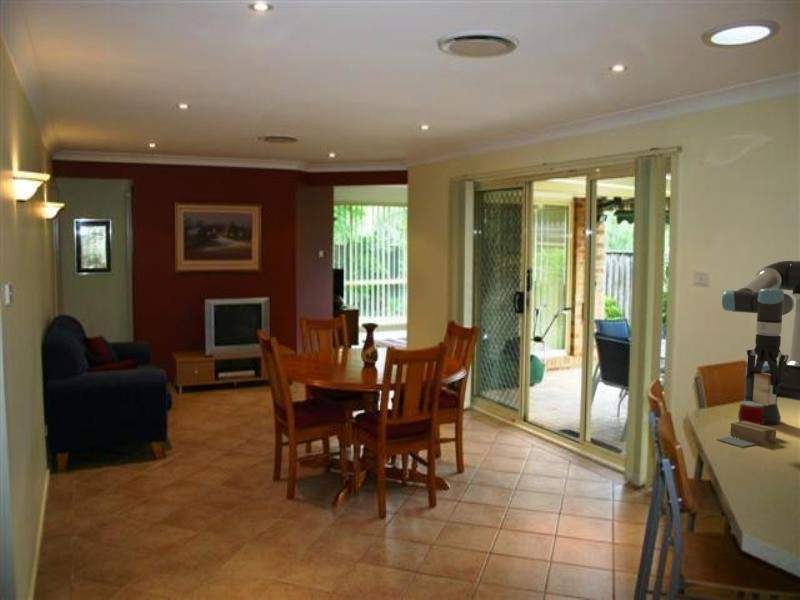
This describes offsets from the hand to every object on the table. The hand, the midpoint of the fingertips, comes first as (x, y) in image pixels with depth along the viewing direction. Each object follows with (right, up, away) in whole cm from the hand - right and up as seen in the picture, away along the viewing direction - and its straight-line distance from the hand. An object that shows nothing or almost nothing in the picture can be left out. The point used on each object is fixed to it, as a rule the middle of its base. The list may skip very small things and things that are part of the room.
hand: (764, 401), depth 231 cm
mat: (-6, -16, +8) cm, 19 cm away
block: (0, -1, 0) cm, 1 cm away
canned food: (+7, -15, +23) cm, 28 cm away
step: (+2, -16, +12) cm, 20 cm away
